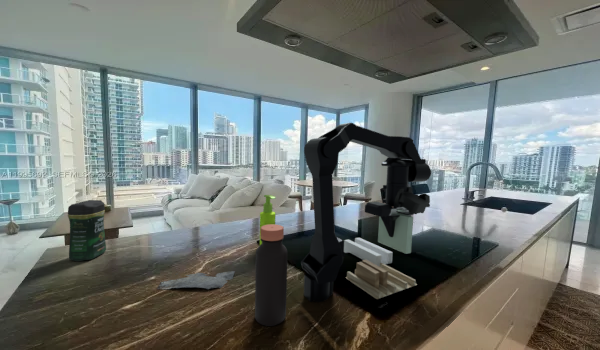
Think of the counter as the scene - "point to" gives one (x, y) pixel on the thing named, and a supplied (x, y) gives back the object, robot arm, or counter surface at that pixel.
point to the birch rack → (394, 283)
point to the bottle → (271, 276)
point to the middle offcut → (383, 273)
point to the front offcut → (368, 274)
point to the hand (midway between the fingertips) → (393, 236)
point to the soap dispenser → (267, 214)
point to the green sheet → (398, 234)
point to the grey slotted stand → (368, 251)
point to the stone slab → (198, 281)
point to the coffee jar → (86, 230)
